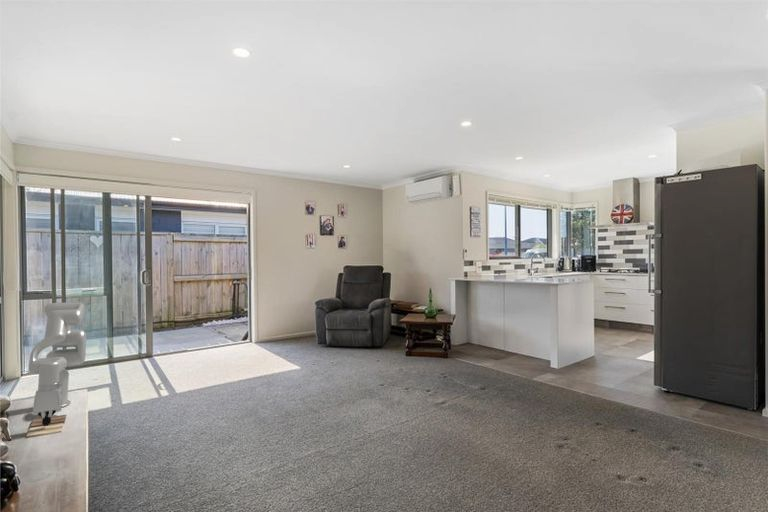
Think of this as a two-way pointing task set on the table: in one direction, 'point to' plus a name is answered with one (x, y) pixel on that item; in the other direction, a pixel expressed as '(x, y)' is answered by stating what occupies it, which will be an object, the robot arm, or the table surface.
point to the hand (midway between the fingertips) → (46, 425)
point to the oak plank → (44, 430)
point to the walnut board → (53, 421)
